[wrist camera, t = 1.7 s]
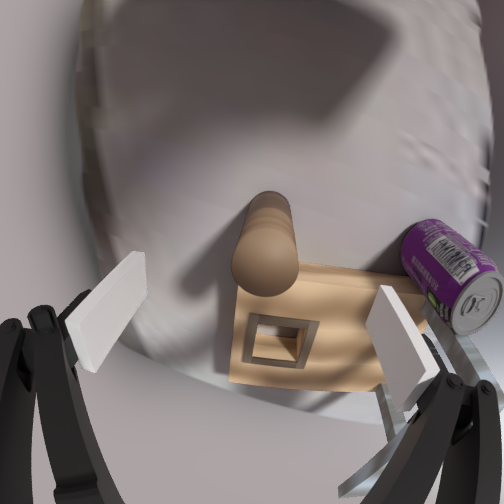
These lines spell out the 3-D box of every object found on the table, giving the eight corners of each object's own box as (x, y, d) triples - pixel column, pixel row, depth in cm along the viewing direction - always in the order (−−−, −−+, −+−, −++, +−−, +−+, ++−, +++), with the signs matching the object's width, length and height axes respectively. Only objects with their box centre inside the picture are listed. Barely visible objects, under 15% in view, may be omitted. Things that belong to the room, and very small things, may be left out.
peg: (251, 188, 27) (234, 232, 16) (293, 194, 27) (304, 242, 16) (247, 227, 28) (228, 292, 18) (286, 232, 28) (292, 301, 17)
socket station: (244, 253, 30) (203, 420, 12) (426, 279, 29) (508, 402, 11) (232, 359, 36) (206, 492, 19) (381, 371, 36) (411, 486, 18)
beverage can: (390, 271, 29) (434, 341, 18) (406, 212, 26) (468, 263, 15) (438, 276, 29) (487, 337, 18) (455, 221, 26) (519, 270, 15)
